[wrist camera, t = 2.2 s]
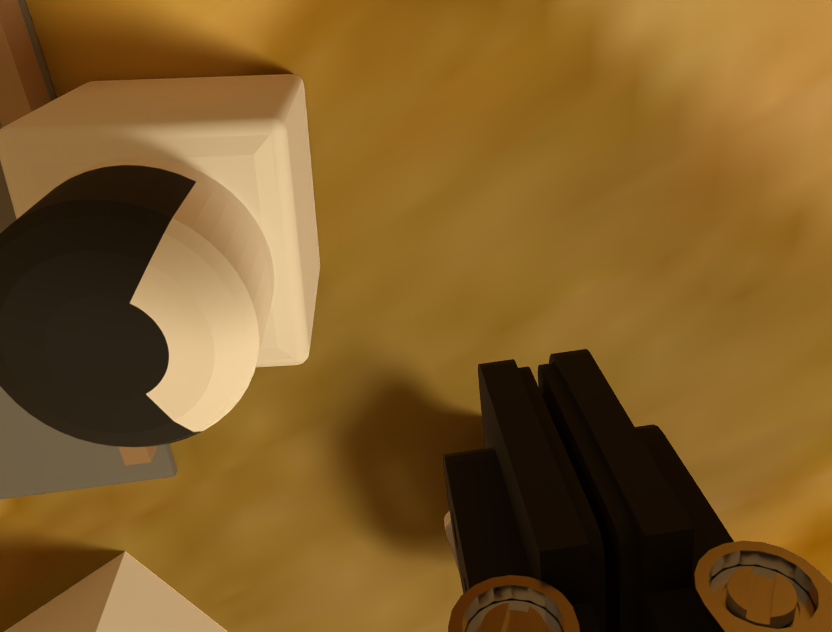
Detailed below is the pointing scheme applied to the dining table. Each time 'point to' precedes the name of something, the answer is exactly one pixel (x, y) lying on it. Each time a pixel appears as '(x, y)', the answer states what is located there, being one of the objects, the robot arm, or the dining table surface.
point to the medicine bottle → (155, 252)
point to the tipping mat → (3, 418)
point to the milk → (118, 605)
